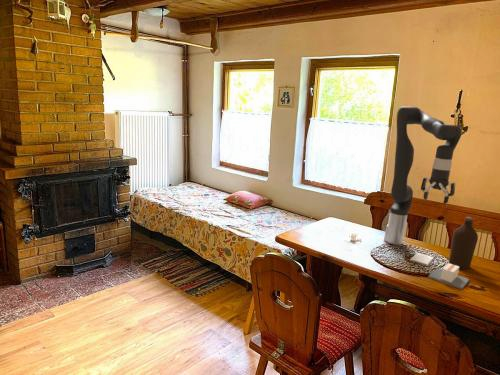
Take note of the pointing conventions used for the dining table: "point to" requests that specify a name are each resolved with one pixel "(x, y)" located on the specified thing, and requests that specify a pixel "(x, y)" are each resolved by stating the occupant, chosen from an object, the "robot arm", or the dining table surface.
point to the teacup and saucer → (354, 238)
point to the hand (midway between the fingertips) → (435, 201)
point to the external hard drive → (421, 259)
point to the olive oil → (463, 245)
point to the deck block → (449, 272)
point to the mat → (457, 282)
